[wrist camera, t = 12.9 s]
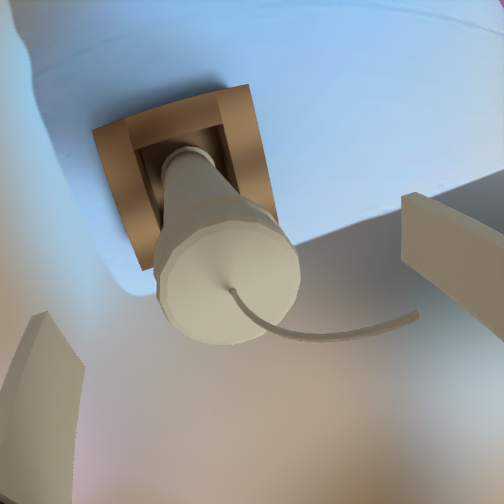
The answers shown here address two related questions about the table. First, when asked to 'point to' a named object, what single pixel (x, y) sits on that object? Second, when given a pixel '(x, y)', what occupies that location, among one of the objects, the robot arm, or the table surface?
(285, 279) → the cream tapered cylinder
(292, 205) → the table surface
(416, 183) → the table surface
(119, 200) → the socket block
